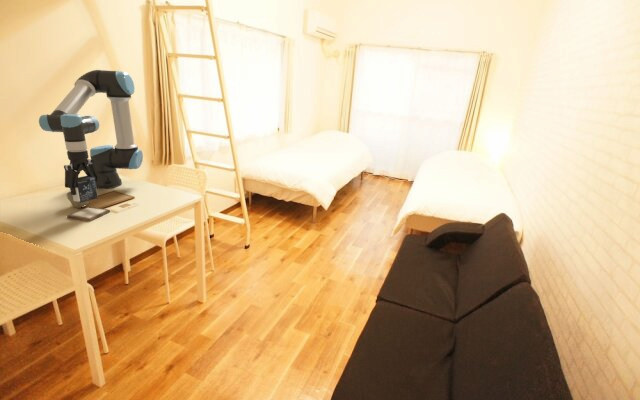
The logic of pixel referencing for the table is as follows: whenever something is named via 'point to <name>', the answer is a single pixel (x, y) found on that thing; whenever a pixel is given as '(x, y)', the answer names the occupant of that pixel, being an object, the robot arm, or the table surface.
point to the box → (86, 188)
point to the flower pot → (75, 203)
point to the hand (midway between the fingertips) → (85, 197)
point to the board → (88, 214)
